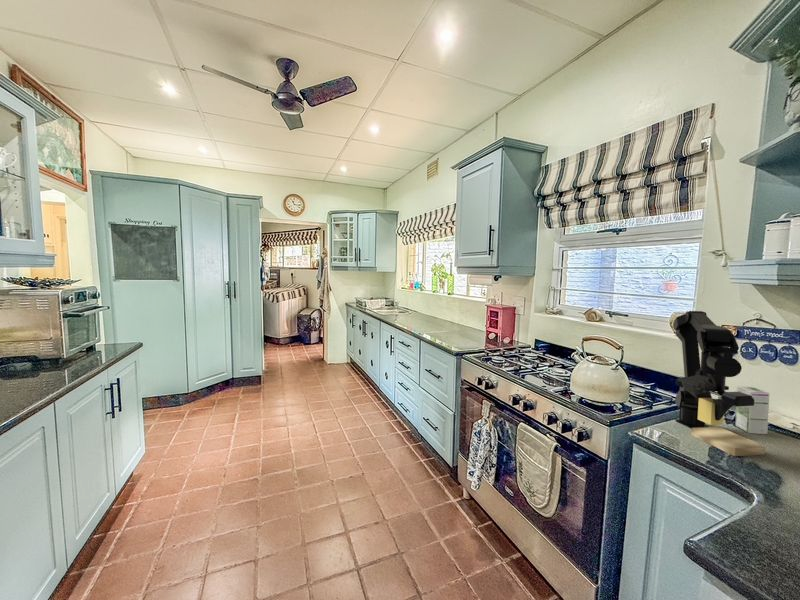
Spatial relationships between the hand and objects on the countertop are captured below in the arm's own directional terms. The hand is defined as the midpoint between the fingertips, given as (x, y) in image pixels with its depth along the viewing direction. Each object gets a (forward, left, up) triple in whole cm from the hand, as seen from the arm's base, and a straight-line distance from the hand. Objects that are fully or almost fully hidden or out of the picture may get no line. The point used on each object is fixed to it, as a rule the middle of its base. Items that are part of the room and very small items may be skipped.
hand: (710, 417), depth 101 cm
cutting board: (0, +6, -9) cm, 11 cm away
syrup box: (-8, +25, -9) cm, 28 cm away
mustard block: (0, 0, -2) cm, 2 cm away
